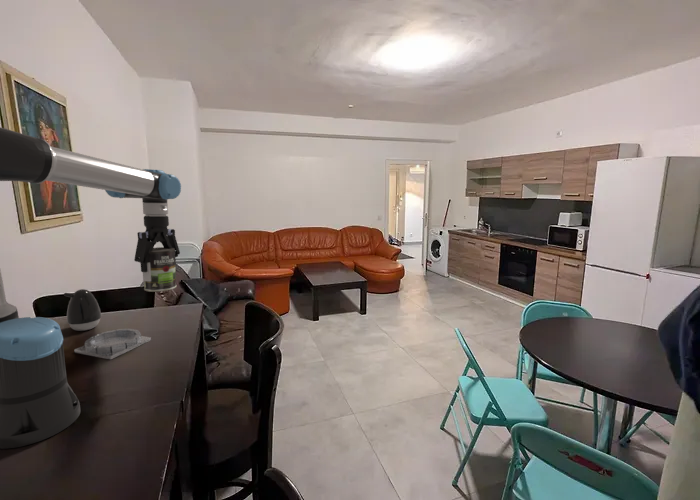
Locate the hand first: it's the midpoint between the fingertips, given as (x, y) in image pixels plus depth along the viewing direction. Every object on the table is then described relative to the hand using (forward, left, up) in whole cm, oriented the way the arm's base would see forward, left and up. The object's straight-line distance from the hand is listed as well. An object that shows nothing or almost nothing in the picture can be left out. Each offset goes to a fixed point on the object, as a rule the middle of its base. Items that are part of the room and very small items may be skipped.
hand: (160, 277), depth 120 cm
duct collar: (-13, +8, -22) cm, 26 cm away
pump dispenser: (-5, +32, -22) cm, 39 cm away
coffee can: (0, 0, -4) cm, 4 cm away
